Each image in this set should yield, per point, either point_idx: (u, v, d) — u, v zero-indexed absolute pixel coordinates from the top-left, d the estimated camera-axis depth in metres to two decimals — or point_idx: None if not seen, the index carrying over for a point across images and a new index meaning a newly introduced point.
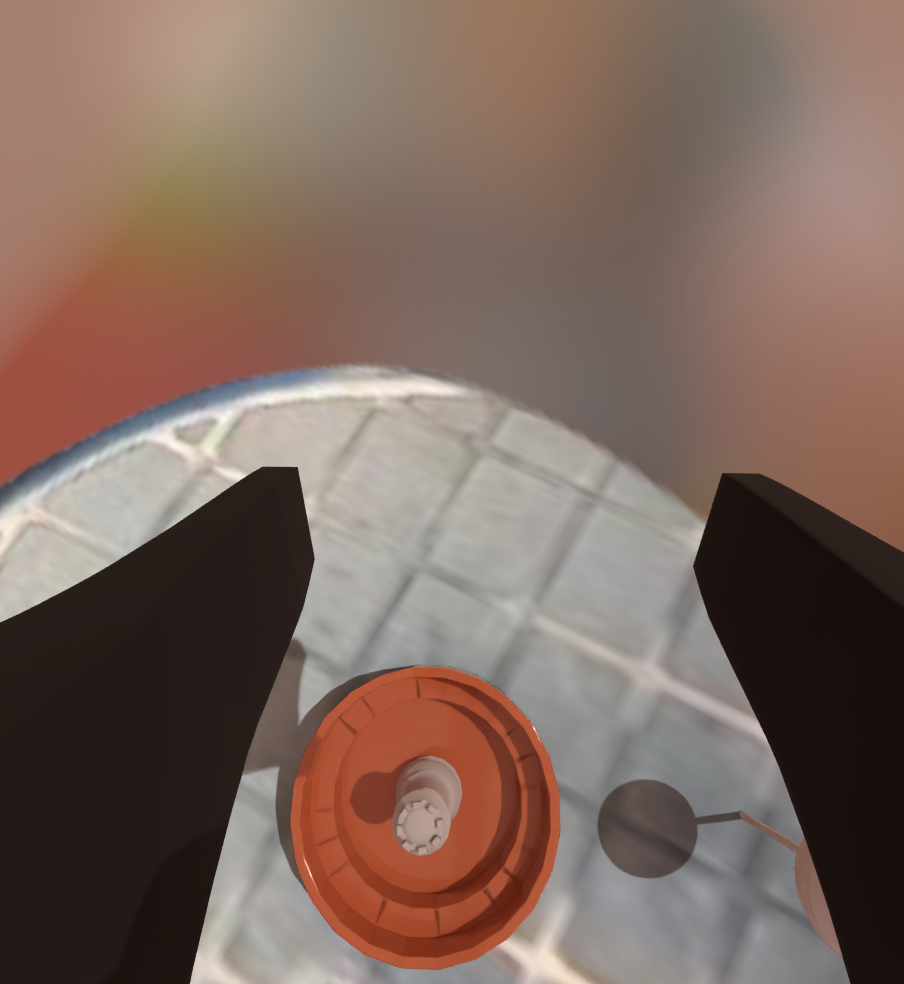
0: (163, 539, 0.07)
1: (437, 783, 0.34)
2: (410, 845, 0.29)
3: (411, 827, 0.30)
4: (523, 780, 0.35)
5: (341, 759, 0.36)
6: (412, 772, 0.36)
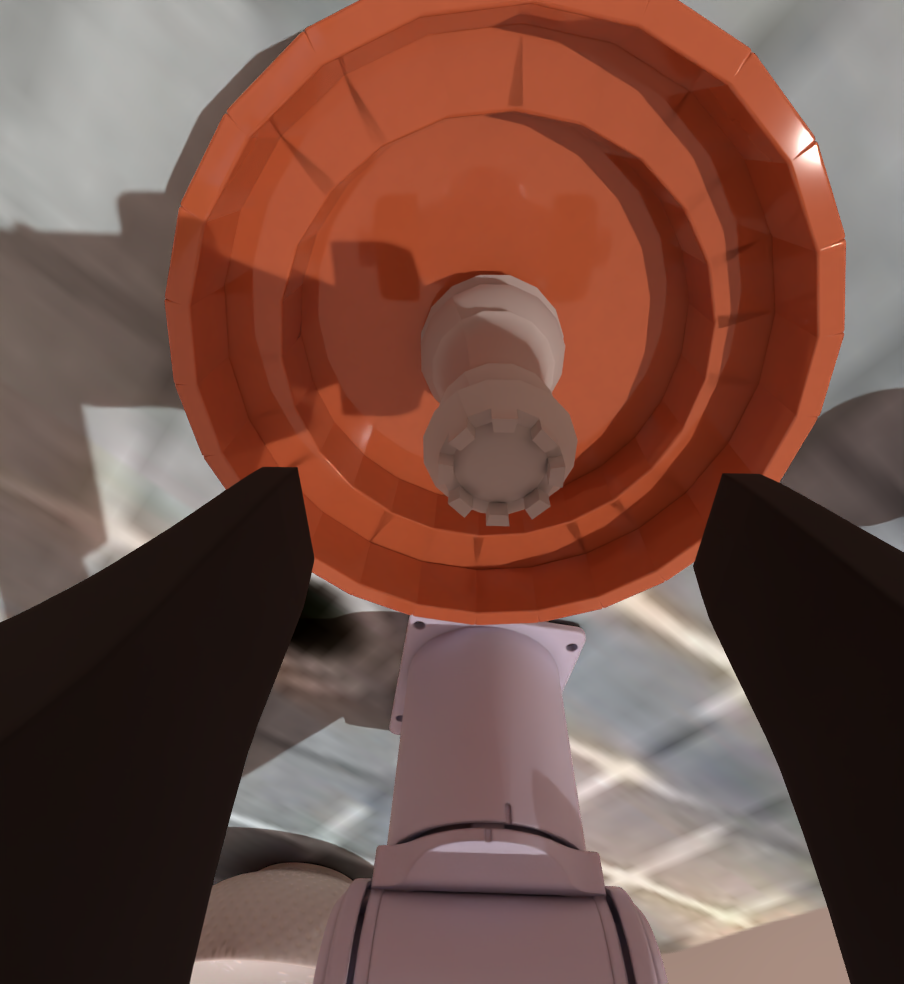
0: (163, 539, 0.07)
1: (529, 348, 0.14)
2: (469, 506, 0.11)
3: (476, 467, 0.11)
4: (717, 365, 0.15)
5: (293, 251, 0.14)
6: (466, 308, 0.15)
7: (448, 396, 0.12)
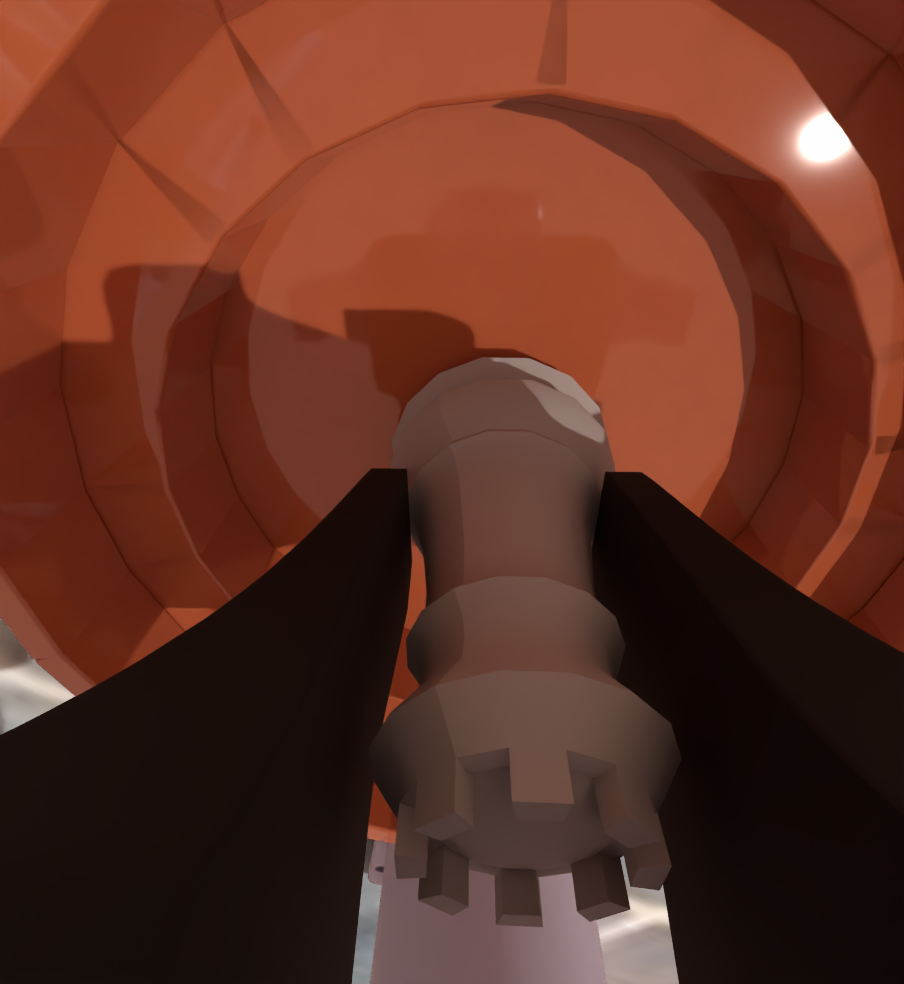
0: (312, 541, 0.07)
1: (566, 501, 0.08)
2: (462, 900, 0.06)
3: (476, 835, 0.05)
4: (862, 506, 0.10)
5: (167, 335, 0.08)
6: (460, 420, 0.09)
7: (424, 627, 0.07)
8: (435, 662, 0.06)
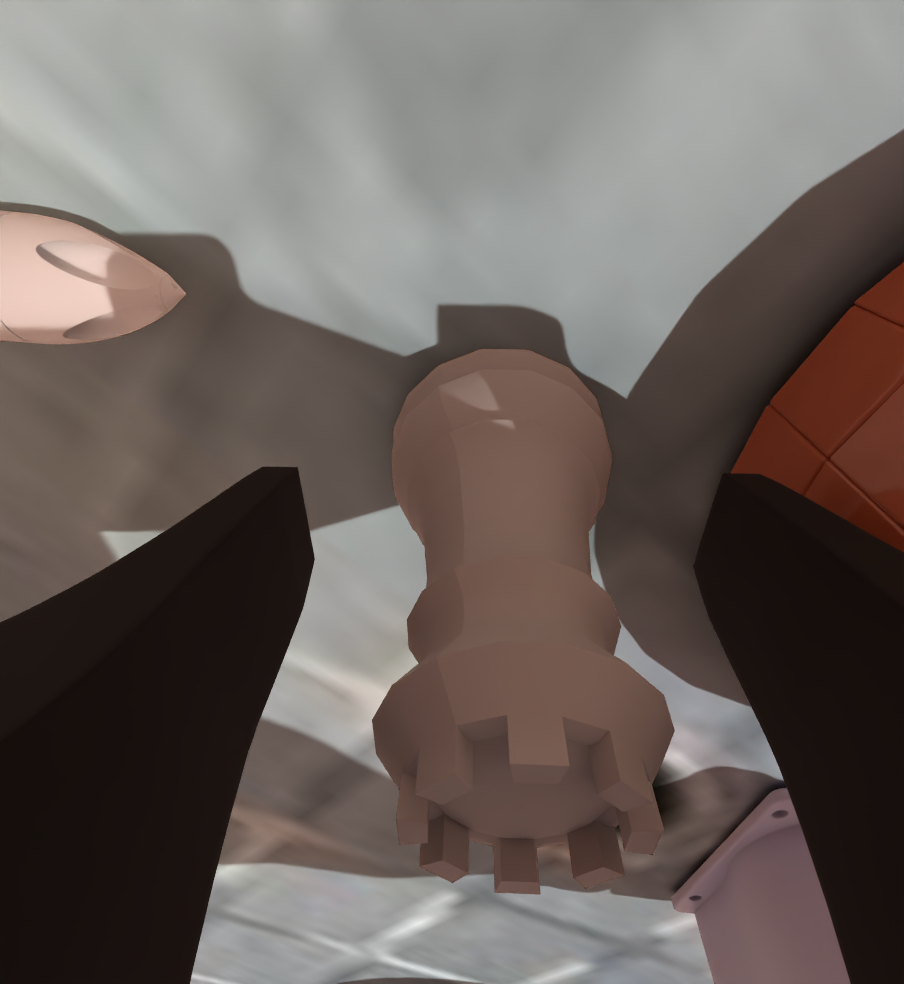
0: (163, 539, 0.07)
1: (563, 488, 0.08)
2: (462, 867, 0.06)
3: (476, 803, 0.05)
4: None
5: None
6: (460, 409, 0.09)
7: (425, 607, 0.07)
8: (436, 639, 0.06)
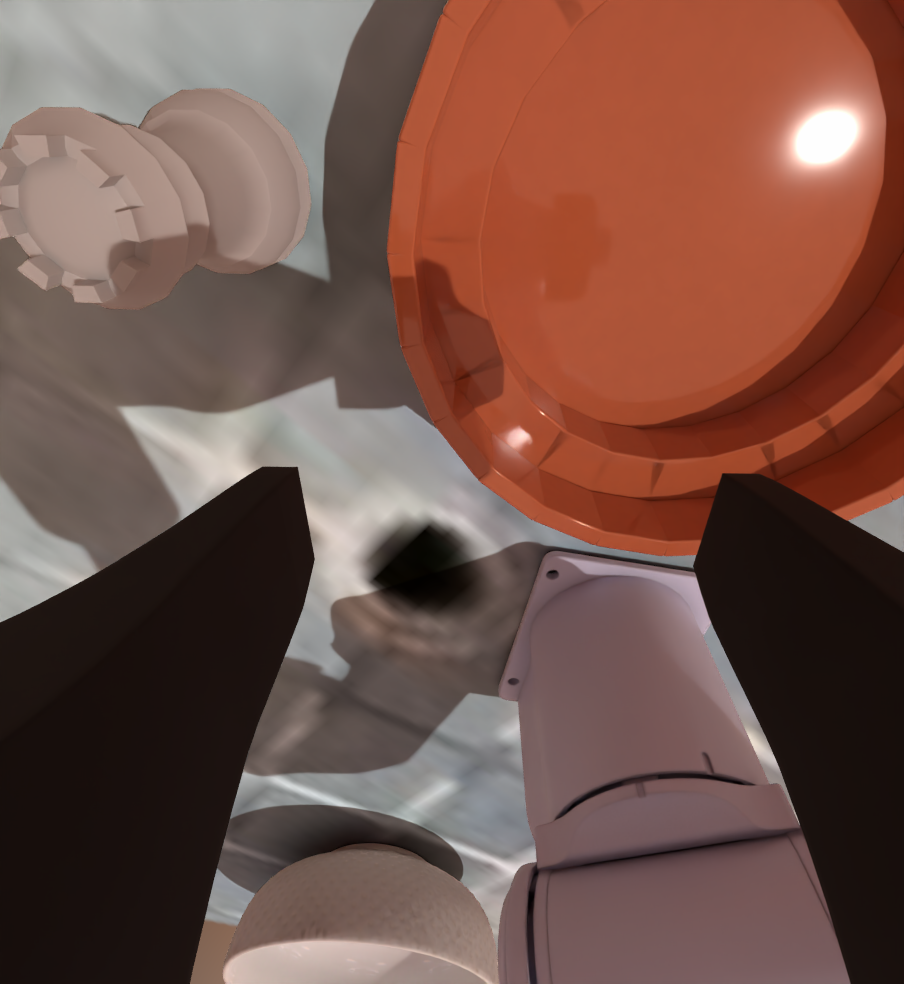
0: (163, 539, 0.07)
1: (208, 144, 0.12)
2: (45, 273, 0.09)
3: (44, 222, 0.09)
4: None
5: (519, 104, 0.12)
6: (160, 113, 0.13)
7: None
8: None
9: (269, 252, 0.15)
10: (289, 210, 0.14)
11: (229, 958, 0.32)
